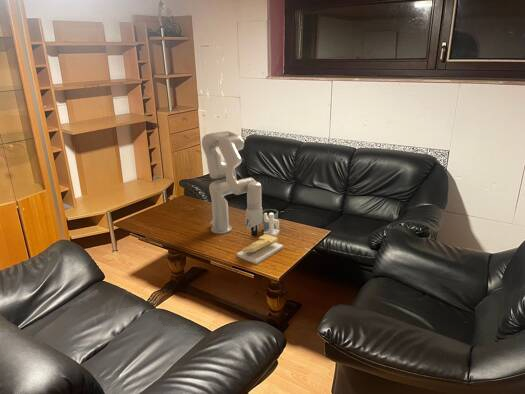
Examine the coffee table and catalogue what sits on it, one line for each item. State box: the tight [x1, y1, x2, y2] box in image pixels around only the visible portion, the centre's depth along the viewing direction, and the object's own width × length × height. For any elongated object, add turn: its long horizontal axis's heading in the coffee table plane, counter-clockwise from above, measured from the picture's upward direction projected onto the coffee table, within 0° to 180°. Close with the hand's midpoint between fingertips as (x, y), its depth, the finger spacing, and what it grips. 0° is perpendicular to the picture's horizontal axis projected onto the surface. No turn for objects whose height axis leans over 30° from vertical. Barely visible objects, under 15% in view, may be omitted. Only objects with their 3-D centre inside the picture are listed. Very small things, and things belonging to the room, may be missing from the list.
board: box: [236, 242, 285, 265], centre depth 213 cm, size 14×23×4 cm, turn 140°
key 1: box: [258, 233, 279, 245], centre depth 217 cm, size 9×6×2 cm, turn 50°
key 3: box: [241, 244, 262, 253], centre depth 207 cm, size 9×6×2 cm, turn 50°
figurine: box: [263, 213, 280, 237], centre depth 228 cm, size 7×9×15 cm
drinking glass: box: [262, 208, 279, 232], centre depth 238 cm, size 10×10×12 cm
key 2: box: [250, 239, 270, 247], centre depth 212 cm, size 9×6×2 cm, turn 50°
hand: (254, 236), depth 213 cm, fingers closed
